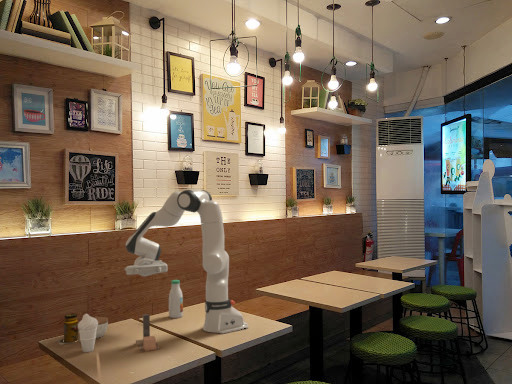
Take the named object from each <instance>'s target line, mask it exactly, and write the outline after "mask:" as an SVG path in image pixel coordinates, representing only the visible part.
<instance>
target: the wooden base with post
mask: <svg viewBox="0 0 512 384" xmlns="http://www.w3.org/2000/svg"><path fill="white" fill-rule="evenodd" d="M150 319H151V318H150V314H149V313H148V314H142V339H136V340H135V344H136V345H137V347H138V349H139V351H140V353H146V352H153V351H158V350H161V348H160V346H159V344H158V342H157V341H156V350H149V351H145V350H144V348H143V337H148V336H151V334H150V333H151V332H150V329H151V328H150V327H151V326H150V325H151V322H150V321H151V320H150Z"/></svg>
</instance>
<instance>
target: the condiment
mask: <svg viewBox="0 0 512 384" xmlns="http://www.w3.org/2000/svg"><path fill="white" fill-rule="evenodd" d="M78 324H79V320H78V314H77V313H67V314H65V315H64V321H63V339H57V342H58V343H59V345H60V346H62V345H65V344H71V342H73V343H76V342H75V341H77V340H78V339H79V329H78ZM63 340H64V342H63ZM79 342H81V341H80V339H79V341H78V342H77V343H79ZM73 343H72V344H73Z"/></svg>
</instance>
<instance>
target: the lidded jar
mask: <svg viewBox="0 0 512 384" xmlns="http://www.w3.org/2000/svg"><path fill="white" fill-rule="evenodd" d="M94 318H95V319H97V321H98V326H97V330H96V339H99V337H100V338H102V337H104V335H105V334H106V333H107V330H108V325H109V318H108V317H105V316H96V315H95V316H94Z"/></svg>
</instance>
